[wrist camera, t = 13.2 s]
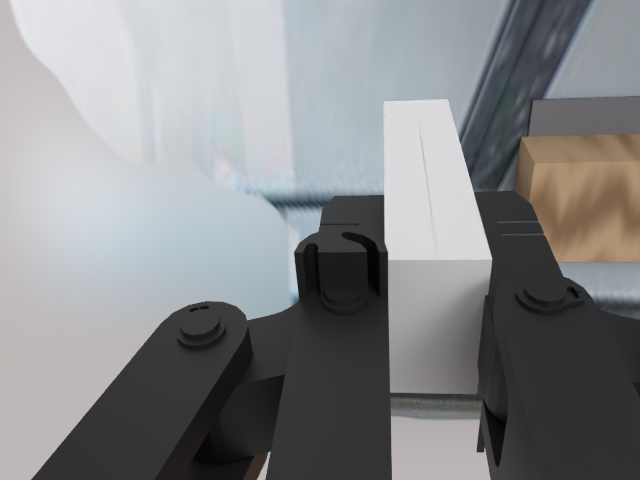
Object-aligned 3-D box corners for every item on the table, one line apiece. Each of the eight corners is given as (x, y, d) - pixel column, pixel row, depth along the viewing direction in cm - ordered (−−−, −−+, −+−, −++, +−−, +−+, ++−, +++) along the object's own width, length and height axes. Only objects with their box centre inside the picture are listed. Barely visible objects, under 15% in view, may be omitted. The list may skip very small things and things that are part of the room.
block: (534, 163, 43) (742, 159, 41) (521, 136, 47) (709, 131, 45) (520, 262, 48) (705, 261, 46) (509, 230, 52) (678, 228, 50)
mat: (532, 99, 46) (533, 101, 45) (750, 92, 44) (752, 93, 44) (511, 255, 54) (511, 257, 54) (693, 254, 52) (695, 256, 52)
